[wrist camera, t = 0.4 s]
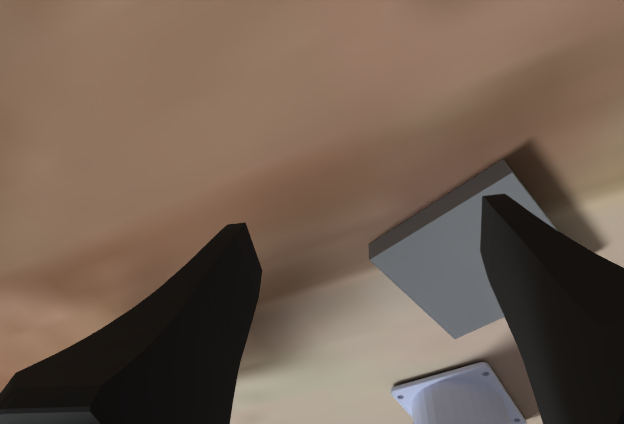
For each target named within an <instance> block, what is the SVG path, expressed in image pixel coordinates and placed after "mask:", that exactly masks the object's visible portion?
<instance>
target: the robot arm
mask: <svg viewBox="0 0 624 424" xmlns="http://www.w3.org/2000/svg"><path fill="white" fill-rule="evenodd" d="M480 252H481V256H482V260H483V263H484V267H485V270H486V274H487V277H488V280H489V283H490V285H491V287H492V289H493V292H494V294H495V296H496V299H497V301H498V303H499V305H500V308H501V310H502V312H503V314H504V316H505V319H506V321H507V323H508V325H509V328H510V330H511V332H512V334H513V337H514V339H515V341H516V343H517V346H518V348H519V351H520V353H521V356H522V358H523V361H524V364H525V367H526V370H527V373H528V376H529V379H530V383H531V386H532V389H533V392H534V395H535V398H536V402H537V405H538V408H539V411H540V415H541V418H542V421H543V424H624V268H623V267H621V266H619V265H617V264H615V263H613V262H611V261H609V260H607V259H605V258H603V257H601V256H599V255H597V254H595V253H594V252H592V251H590V250H588V249H587V248H585V247H583V246H582V245H580V244H578V243H576V242H575V241H573V240H571V239H570V238H568V237H567V236H565V235H563V234H562V233H560V232H559V231H557V230H556V229H554V228H553V227H551V226H550V225H548V224H547V223H545V222H544V221H542V220H541V219H540V218H538V217H537V216H535V215H534V214H533V213H531V212H530V211H528V210H527V209H526V208H524V207H523V206H522V205H520V204H519V203H517V202H516V201H515V200H513V199H512V198H511V197H509V196H508V195H506V194H496V195H487V196H482V214H481V240H480ZM261 275H262V269H261V266H260V263H259V260H258V257H257V254H256V251H255V249H254V246H253V243H252V240H251V237H250V234H249V231H248V228H247V226H246V223H238V224H229V225H227V226H225V227H224V228H223V229H222V230H221V231H220V232H219V233H218V234H217V235H216V236H215V237H214V238H213V239H212V240H211V241H210V242H209V243H208V244H207V245H206V246H205V247H203V248H202V249H201V250H200V251H199V252H198V253H197V254H196V255H195V256H194V257H193V258H192V259H191V260H190V261H189V262H188V263H187V264H186V265H185V266H184V267H183V268H181V269H180V270H179V271H178V272H177V273H176V274H175V275H174V276H172V277H171V278H170V279H169V280H168V281H167V282H166V283H165V284H163V285H162V286H161V287H160V288H159V289H157V290H156V291H155V292H154V293H152V294H151V295H150V296H149V297H147V298H146V299H144V300H143V301H142V302H140V303H139V304H138V305H136V306H135V307H134V308H132V309H131V310H129V311H128V312H126V313H125V314H123V315H122V316H120V317H119V318H117V319H116V320H114V321H113V322H111V323H110V324H108V325H106V326H105V327H103V328H102V329H100V330H98V331H97V332H95V333H93V334H92V335H90V336H88V337H86V338H85V339H83V340H81V341H79V342H77V343H76V344H74V345H72V346H70V347H68V348H66V349H64V350H62V351H61V352H59V353H57V354H55V355H52V356H50V357H48V358H46V359H44V360H42V361H40V362H38V363H36V364H34V365H32V366H30V367H27V368H25V369H23V370H21V371H19V372H17V373H15V375H14V376H13V377H12V379H11V380H10V381H9V382H8V384H7V385H6V386H5V388H4V389H3V390H2V392H1V393H0V424H230V417H231V410H232V404H233V398H234V392H235V386H236V380H237V375H238V370H239V366H240V361H241V357H242V354H243V351H244V347H245V344H246V340H247V337H248V333H249V330H250V326H251V323H252V319H253V316H254V312H255V309H256V305H257V301H258V297H259V291H260V284H261ZM391 394H392V396H393V397H394V398H395V399H396V400H397V401H398V402H399V403H400V404H401V406H402V407H403V408H404V409H405V410H406V411H407V412H408V413H409V414H410V416H411V417H412V418H413V424H527V423H526V420H525V419H524V417H523V416H522V414H521V413H520V411H519V410H518V408H517V407H516V405H515V404H514V402H513V401H512V399H511V398H510V396H509V395H508V393H507V392H506V390H505V389H504V387H503V386H502V384H501V382H500V381H499V379H498V378H497V376H496V375H495V373H494V372H493V370H492V369H491V367H490V366H489V364H487V363H485V362H479V363H476V364H472V365H469V366H465V367H462V368H458V369H455V370H451V371H448V372H444V373H441V374H437V375H433V376H430V377H426V378H423V379H419V380H416V381H412V382H409V383H405V384H402V385H398V386H395V387H393V388H392V389H391Z"/></svg>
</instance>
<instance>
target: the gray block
mask: <svg viewBox="0 0 624 424" xmlns="http://www.w3.org/2000/svg"><path fill="white" fill-rule="evenodd" d="M496 194H506V195H508V196H509V197H511V198H512V199H513V200H515V201H516V202H517V203H519V204H520V205H522V206H523V207H524V208H526V209H527V210H528V211H530V212H531V213H533V214H534V215H535V216H537V217H538V218H540V219H541V220H542V221H544V222H545V223H547V224H548V225H550V226H551V227H553V228H554V229H556V230H557V231H558V229H557V228H556V227H555V226H554V224H553V223H552V222H551V220H550V219H549V218H548V216H547V215H546V214H545V212H544V211H543V210H542V209H541V207H540V206H539V205H538V203H537V202H536V201H535V199H534V198H533V197H532V195H531V194H530V193H529V192H528V190H527V189H526V188H525V186H524V185H523V184H522V182H521V181H520V180H519V178H518V177H517V176H516V175H515V173H514V172H513V171H512V169H511V168H510V167H509V165H508V164H507V163H506V161H505V160H504V159H502V160H500V161H499V162H497V163H495V164H494V165H492V166H491V167H489V168H488V169H486V170H484V171H483V172H481V173H480V174H478V175H477V176H475V177H473V178H472V179H470V180H469V181H467V182H466V183H464V184H462V185H461V186H459V187H458V188H456V189H455V190H453V191H451V192H450V193H448V194H447V195H445V196H444V197H442V198H441V199H439V200H437V201H436V202H434V203H433V204H431V205H430V206H428V207H426V208H425V209H423V210H422V211H420V212H419V213H417V214H415V215H414V216H412V217H411V218H409V219H408V220H406V221H404V222H403V223H401V224H400V225H398V226H397V227H395V228H393V229H392V230H390V231H389V232H387V233H386V234H384V235H382V236H381V237H379V238H378V239H376V240H375V241H373V242H371V243H370V244H369V260H370V261H371V262H372V263H373V264H374V265H375V266H376V267H377V268H378V269H380V270H381V271H382V272H383V273H384V274H385V275H386V276H387V277H388V278H389V279H390V280H391V281H392V282H394V283H395V284H396V285H397V286H398V287H399V288H400V289H401V290H402V291H403V292H404V293H405V294H407V295H408V296H409V297H410V298H411V299H412V300H413V301H414V302H415V303H416V304H417V305H418V306H419V307H421V308H422V309H423V310H424V311H425V312H426V313H427V314H428V315H429V316H430V317H431V318H432V319H434V320H435V321H436V322H437V323H438V324H439V325H440V326H441V327H442V328H443V329H444V330H445V331H447V332H448V333H449V334H450V335H451V336H452V337H453V338H454V339H456V338H459V337H461V336H463V335H465V334H467V333H470V332H472V331H474V330H476V329H479V328H481V327H483V326H485V325H488V324H490V323H492V322H494V321H496V320H499V319H501V318H503V317H505V316H504V314H503V312H502V310H501V308H500V305H499V303H498V301H497V299H496V296H495V294H494V292H493V289H492V287H491V285H490V283H489V280H488V277H487V274H486V270H485V267H484V263H483V260H482V256H481V252H480V240H481V214H482V196H487V195H496Z"/></svg>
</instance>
